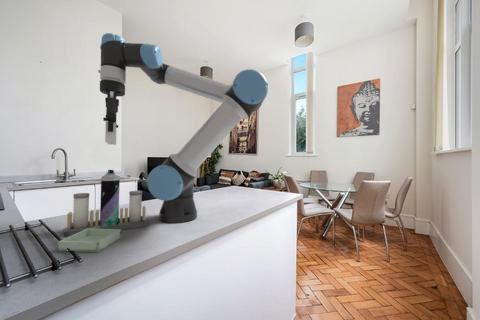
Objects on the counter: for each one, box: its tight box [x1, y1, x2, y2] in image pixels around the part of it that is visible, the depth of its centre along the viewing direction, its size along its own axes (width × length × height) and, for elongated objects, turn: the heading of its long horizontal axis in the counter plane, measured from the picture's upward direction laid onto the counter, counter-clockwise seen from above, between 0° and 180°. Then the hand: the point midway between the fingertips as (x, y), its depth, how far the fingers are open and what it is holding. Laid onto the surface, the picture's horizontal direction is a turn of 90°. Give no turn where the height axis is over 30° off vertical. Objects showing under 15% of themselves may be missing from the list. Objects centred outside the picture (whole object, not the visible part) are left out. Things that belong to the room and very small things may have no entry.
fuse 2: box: [128, 190, 143, 223], centre depth 76 cm, size 4×4×12 cm
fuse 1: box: [72, 192, 90, 229], centre depth 68 cm, size 4×4×12 cm
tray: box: [57, 227, 122, 253], centre depth 58 cm, size 10×10×2 cm
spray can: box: [99, 169, 120, 226], centre depth 72 cm, size 6×6×20 cm
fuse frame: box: [63, 206, 148, 238], centre depth 72 cm, size 23×9×6 cm, turn 120°
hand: (111, 143), depth 72 cm, fingers open, 13 cm apart
